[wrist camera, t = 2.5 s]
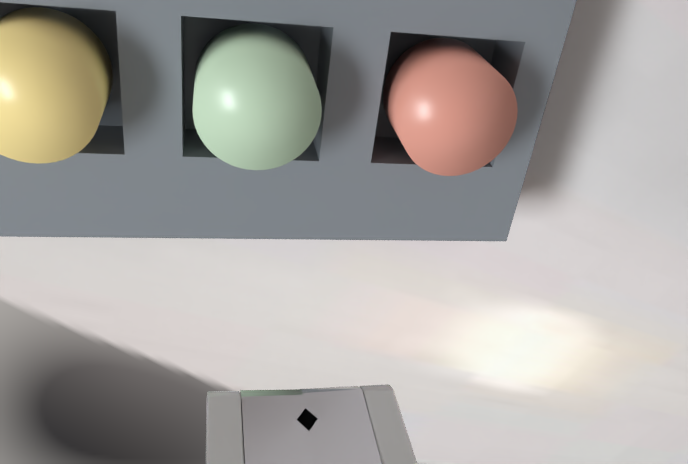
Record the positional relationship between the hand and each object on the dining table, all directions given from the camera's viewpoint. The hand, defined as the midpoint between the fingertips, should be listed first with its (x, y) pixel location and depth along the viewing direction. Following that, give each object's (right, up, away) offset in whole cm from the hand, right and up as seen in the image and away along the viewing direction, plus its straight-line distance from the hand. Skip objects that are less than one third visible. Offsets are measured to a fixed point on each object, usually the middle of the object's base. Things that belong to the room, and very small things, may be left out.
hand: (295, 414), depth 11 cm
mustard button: (-9, +9, +12) cm, 17 cm away
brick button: (+4, +8, +15) cm, 17 cm away
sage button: (-3, +9, +13) cm, 16 cm away
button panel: (-3, +10, +15) cm, 18 cm away
